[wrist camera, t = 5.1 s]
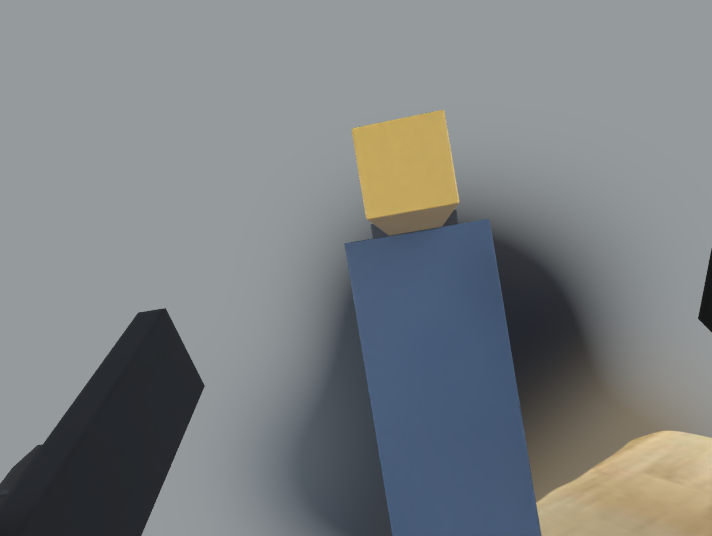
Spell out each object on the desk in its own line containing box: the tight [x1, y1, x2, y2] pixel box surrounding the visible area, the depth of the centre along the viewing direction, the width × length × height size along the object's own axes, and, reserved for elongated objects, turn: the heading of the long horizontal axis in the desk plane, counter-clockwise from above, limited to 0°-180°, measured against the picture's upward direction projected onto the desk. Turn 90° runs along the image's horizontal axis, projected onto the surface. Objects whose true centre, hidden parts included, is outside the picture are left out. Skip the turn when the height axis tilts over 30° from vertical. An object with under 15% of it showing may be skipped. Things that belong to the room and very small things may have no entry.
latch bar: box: [352, 110, 459, 236], centre depth 28 cm, size 26×3×3 cm, turn 172°
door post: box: [345, 210, 541, 536], centre depth 32 cm, size 12×8×32 cm, turn 172°
